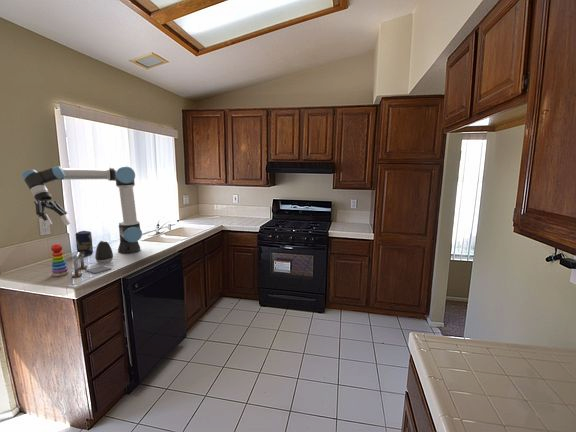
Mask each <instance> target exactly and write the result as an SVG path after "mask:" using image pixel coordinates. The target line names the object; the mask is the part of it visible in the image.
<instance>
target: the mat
mask: <svg viewBox="0 0 576 432" xmlns="http://www.w3.org/2000/svg"><path fill="white" fill-rule="evenodd" d="M108 270H109V271H111V270H112V267H108V266H105V265H99V266H95V267H92V268H87V269H86V270H84V272H86V273H88V274H91V275H97V274H101V273H105V272H107V271H108Z"/></svg>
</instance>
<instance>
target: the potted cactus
mask: <svg viewBox="0 0 576 432" xmlns="http://www.w3.org/2000/svg"><path fill="white" fill-rule="evenodd" d="M113 258H114V254H113V250H112V248H111V246H110V243H109V242H108V241H107V240H100V241H99V242H98V244H97V246H96V249H95V260H96V262H97V263H98V264H100V265H106V264H109V263H111V262H112V261H113Z"/></svg>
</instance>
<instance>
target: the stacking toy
mask: <svg viewBox="0 0 576 432" xmlns="http://www.w3.org/2000/svg"><path fill="white" fill-rule="evenodd" d="M62 250H63V246H62V244H59V243H54V244H52V246H51V251H52V253H51V256H52V257H51V262H52V264H51V265H52V266H51V272H52V273H51V276H52V277H58V278H59V277H63V276H66V275H68V274H69V273H70V272H69V268H68V264H66V263H67V261H66V259H65V258H64V257H65V255H64V252H63V251H62Z"/></svg>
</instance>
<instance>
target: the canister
mask: <svg viewBox="0 0 576 432" xmlns="http://www.w3.org/2000/svg"><path fill="white" fill-rule="evenodd" d="M75 241H76V242H75V243H76V253H77V252H79V253H81V254H83V257H85V256H91V255H92V254H94V248H93V236H92V232H91V231H89V230H81V231H78V232H76V233H75Z"/></svg>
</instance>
